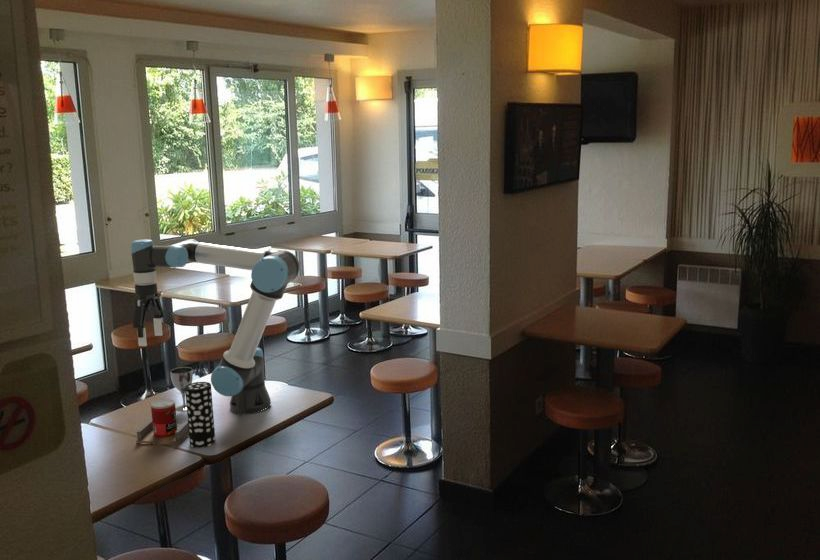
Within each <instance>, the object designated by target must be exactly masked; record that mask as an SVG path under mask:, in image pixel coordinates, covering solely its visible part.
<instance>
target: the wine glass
mask: <svg viewBox="0 0 820 560" xmlns="http://www.w3.org/2000/svg"><path fill="white" fill-rule="evenodd" d="M193 371H194V370H193V368H192V367H189V366H180V367H174V368H172V369H171V370H170V379H171V382H172V385H173V387H174V388H175V389H176V390H177V391H179V393H180V394H181V397H182V403H183V404H181V405H179V406H175V407H176V412H187V406H186V394H185V386H186V385H188V384H191V383H193V378H194V374H193V373H194V372H193Z"/></svg>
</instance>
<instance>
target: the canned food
mask: <svg viewBox="0 0 820 560" xmlns="http://www.w3.org/2000/svg"><path fill="white" fill-rule="evenodd" d="M176 407H177V406H176V402H175V400H173V399H168V398H165V399H164V398H163V399H157V400H155V401H153V402H151V403H150V410H151V419H152V422H153V432H154V435H155V436H157V437H169V436H172V435H174V434H175V432H176V431H177V426H178V421H177V411H176Z"/></svg>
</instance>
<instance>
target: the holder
mask: <svg viewBox="0 0 820 560" xmlns="http://www.w3.org/2000/svg"><path fill="white" fill-rule="evenodd" d="M136 435H137V437H136V438H137V439H136V440H135V442H136V443H154V444H153V445H164V444H166V446H167V445H173V446H175V445H176V446H179V445H182V443H183V442H185V440H186V439H187V438H188V437H189V429H188V419H187V420H185V422H184V423H182V424H181V425H179V426H178V425H177V431H176V432H175V434H174V435H172V436H169V437H157V436H155V435H154V432H153V422H152V418H151V419H149V420H148V421H147V422H146V423H145V424H144V425H142V427H141V428H140V429H138V430H137V431H136Z"/></svg>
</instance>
